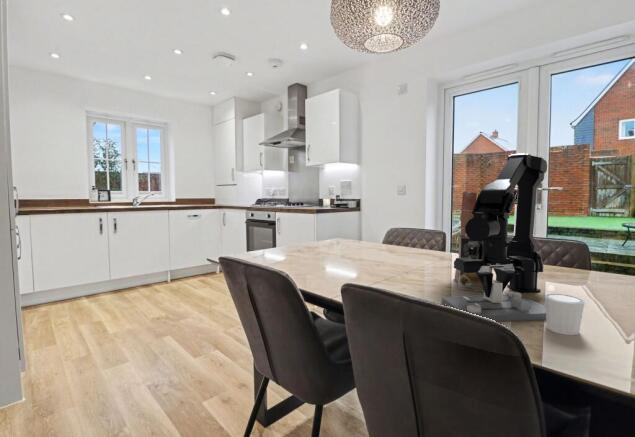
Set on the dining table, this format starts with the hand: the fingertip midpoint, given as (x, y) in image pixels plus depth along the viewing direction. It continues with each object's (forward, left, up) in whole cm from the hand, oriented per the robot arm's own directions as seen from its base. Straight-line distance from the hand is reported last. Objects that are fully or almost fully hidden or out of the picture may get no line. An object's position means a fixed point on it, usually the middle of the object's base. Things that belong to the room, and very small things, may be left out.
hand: (492, 296), depth 86 cm
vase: (-7, -26, -3) cm, 28 cm away
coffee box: (-4, -16, -3) cm, 17 cm away
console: (+1, +3, -3) cm, 4 cm away
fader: (0, 0, -1) cm, 1 cm away
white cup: (-6, +15, -3) cm, 17 cm away
